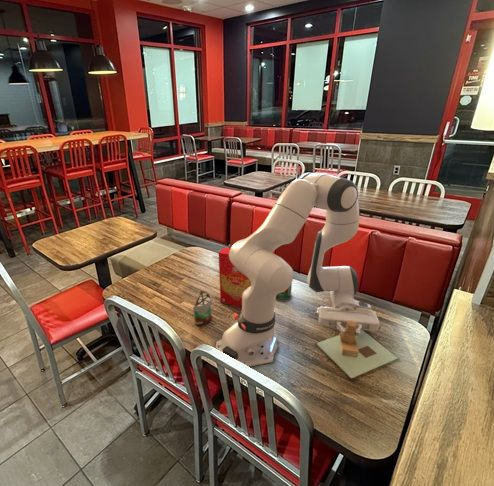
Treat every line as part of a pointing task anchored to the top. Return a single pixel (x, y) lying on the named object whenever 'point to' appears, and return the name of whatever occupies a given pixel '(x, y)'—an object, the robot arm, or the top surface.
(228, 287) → the food packaging
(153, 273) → the top surface
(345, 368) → the mat
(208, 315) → the food container
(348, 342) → the wooden block stack
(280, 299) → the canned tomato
